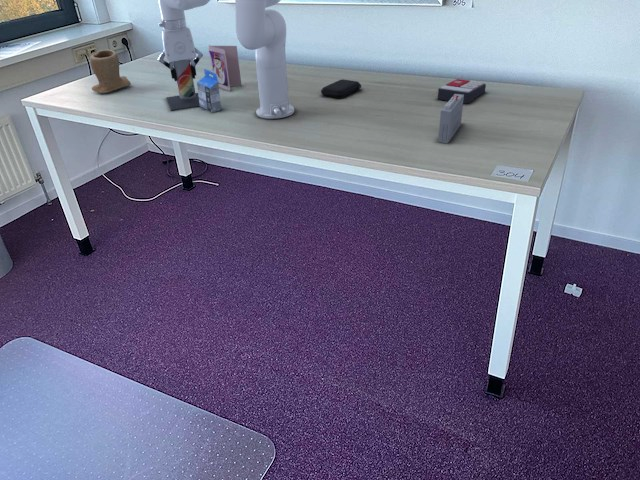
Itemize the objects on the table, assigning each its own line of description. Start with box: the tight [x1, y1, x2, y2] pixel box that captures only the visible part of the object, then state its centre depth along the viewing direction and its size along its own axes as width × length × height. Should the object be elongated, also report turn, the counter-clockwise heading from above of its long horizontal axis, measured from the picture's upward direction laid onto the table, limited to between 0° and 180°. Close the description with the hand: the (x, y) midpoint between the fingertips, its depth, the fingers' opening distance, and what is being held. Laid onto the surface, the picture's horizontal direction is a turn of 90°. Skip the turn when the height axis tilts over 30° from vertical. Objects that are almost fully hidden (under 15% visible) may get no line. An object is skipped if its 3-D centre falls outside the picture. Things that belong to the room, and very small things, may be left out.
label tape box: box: [196, 68, 222, 113], centre depth 176 cm, size 9×4×12 cm, turn 40°
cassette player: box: [437, 94, 464, 144], centre depth 148 cm, size 16×3×10 cm, turn 154°
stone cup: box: [89, 49, 131, 94], centre depth 202 cm, size 15×12×15 cm
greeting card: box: [207, 45, 243, 92], centre depth 198 cm, size 11×7×15 cm, turn 42°
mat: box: [166, 92, 202, 112], centre depth 188 cm, size 16×14×1 cm
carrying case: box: [320, 78, 362, 99], centre depth 188 cm, size 11×3×15 cm
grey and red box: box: [437, 78, 487, 105], centre depth 178 cm, size 11×4×15 cm
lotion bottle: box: [173, 60, 196, 99], centre depth 182 cm, size 6×6×20 cm
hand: (184, 78), depth 184 cm, fingers closed on lotion bottle, 5 cm apart
